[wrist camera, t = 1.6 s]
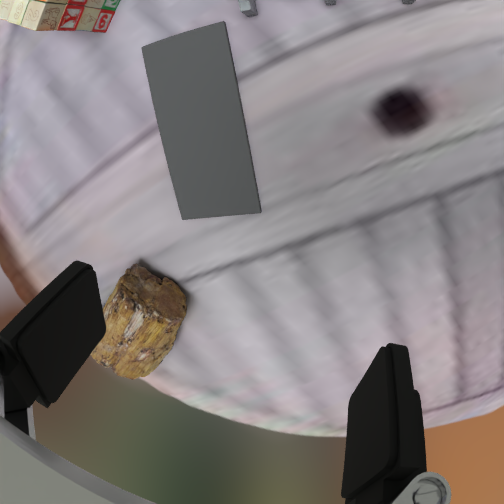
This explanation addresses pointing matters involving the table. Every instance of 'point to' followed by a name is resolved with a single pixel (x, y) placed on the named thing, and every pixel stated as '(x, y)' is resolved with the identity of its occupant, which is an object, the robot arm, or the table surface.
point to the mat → (202, 123)
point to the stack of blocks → (59, 14)
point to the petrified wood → (140, 323)
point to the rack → (249, 10)
